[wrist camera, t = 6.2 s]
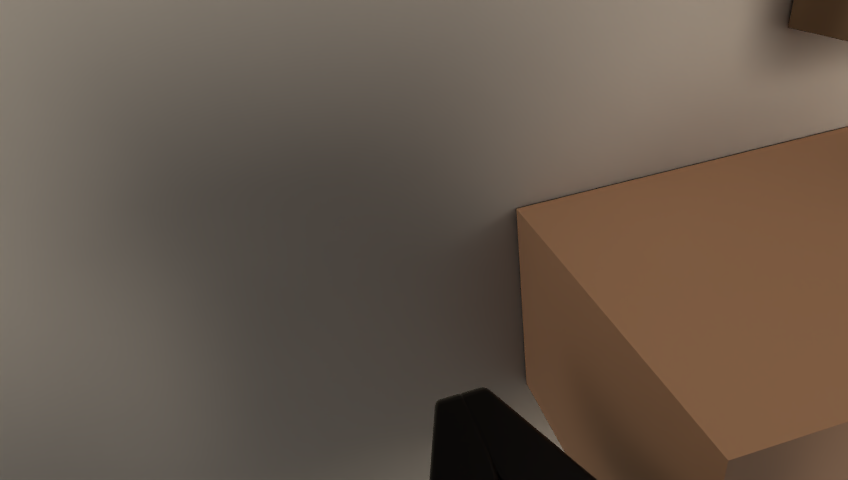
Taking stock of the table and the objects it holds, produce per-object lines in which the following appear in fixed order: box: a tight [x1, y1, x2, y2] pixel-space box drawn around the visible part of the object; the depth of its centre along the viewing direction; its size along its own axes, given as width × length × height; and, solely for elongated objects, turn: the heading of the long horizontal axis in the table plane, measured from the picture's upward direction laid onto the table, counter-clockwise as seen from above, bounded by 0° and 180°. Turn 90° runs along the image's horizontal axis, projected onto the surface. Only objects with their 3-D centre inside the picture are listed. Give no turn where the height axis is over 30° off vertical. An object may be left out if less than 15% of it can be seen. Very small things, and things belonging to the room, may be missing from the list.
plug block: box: [516, 127, 848, 480], centre depth 9 cm, size 4×8×5 cm, turn 99°
